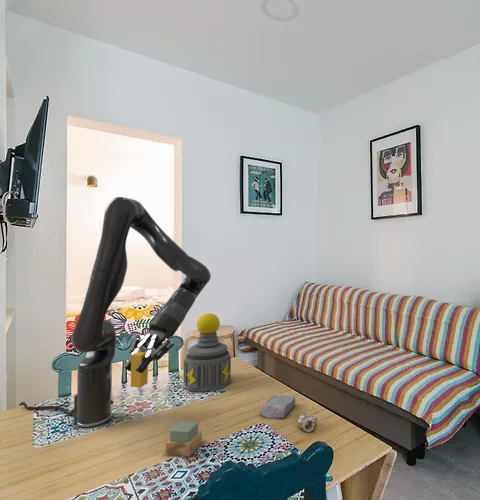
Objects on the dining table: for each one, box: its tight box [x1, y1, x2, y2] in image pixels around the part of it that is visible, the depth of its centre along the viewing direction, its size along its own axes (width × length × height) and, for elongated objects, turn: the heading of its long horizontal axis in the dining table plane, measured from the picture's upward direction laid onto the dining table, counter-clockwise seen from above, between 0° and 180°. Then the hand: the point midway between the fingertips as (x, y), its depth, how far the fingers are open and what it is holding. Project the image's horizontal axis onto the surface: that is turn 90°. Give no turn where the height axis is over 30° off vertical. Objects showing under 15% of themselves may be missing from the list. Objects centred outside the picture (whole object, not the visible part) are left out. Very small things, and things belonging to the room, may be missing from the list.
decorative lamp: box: [183, 312, 232, 393], centre depth 148 cm, size 19×19×30 cm
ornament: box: [296, 411, 318, 433], centre depth 115 cm, size 8×7×4 cm
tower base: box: [165, 430, 203, 457], centre depth 101 cm, size 7×7×4 cm
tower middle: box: [169, 420, 199, 442], centre depth 101 cm, size 6×6×3 cm
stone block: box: [260, 394, 296, 419], centre depth 126 cm, size 12×5×10 cm
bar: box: [130, 351, 149, 388], centre depth 99 cm, size 3×3×9 cm
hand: (133, 370), depth 98 cm, fingers closed on bar, 3 cm apart
